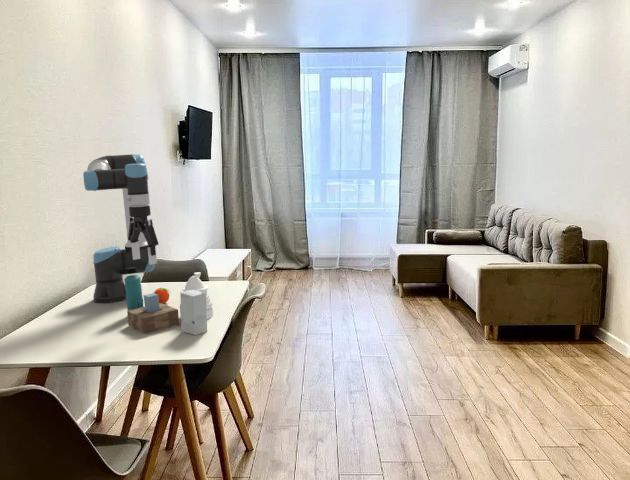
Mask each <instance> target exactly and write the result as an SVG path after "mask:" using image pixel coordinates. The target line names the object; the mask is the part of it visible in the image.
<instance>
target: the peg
mask: <svg viewBox="0 0 630 480" xmlns="http://www.w3.org/2000/svg"><path fill="white" fill-rule="evenodd" d="M143 305H144V307H145V312H147V313H152V312H156V311H160V308H159V297H158V295H157V294H155V293H154V292H152V293H148V294H147V293H146V294H143Z"/></svg>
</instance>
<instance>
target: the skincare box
mask: <svg viewBox="0 0 630 480" xmlns="http://www.w3.org/2000/svg"><path fill="white" fill-rule="evenodd" d="M179 296H180V304H181V317H180V320H181V322H180V323H181V332H183V333H186V334H191V335H193V336H197V335H200V334H203V333H206V332H208V322H207V321H208V319H207V312H206V293H203V292H200V291H196V290H188V291H184V292H183V291H181V292H180V295H179Z"/></svg>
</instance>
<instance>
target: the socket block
mask: <svg viewBox="0 0 630 480" xmlns="http://www.w3.org/2000/svg"><path fill="white" fill-rule="evenodd" d="M159 308H160V311H156V312H152V313H147V312H145V306H144V307H142V308H137V309H133V310H129V311H127V310H126V313H127V314H126V315H127V321H128V322H127V323H128V327H130V328H132V329H134V330H136V331H138V332H140V333H143V334H144V335H146V334H149V333H153V332H157V331H161V330H164V329H169V328H172V326H173V327H177V326H180V316H179V315H180V314H179V309H177V308H175V307H173V306H170V305H167V304H166V303H164V304H162V303H159Z"/></svg>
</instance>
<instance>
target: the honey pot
mask: <svg viewBox="0 0 630 480" xmlns="http://www.w3.org/2000/svg"><path fill="white" fill-rule="evenodd" d="M201 273H202V272H200V271H199V272H194V273H193V274H194V275H192V276H190V277H189V278H188V280H187V282H186V283H185V286H184V287H183V288H182V292H184V291H188V290H196V291H200V292H203V293H206V312H207V320H209V319H211V318H213V317H214V309H213V308H214V306H213V301H212V300H211V297H210V293H208V289H209V286H208V285H205V284H204V283H203V281H202V280H201V279H200V277H201V275H202V274H201ZM179 315H180V316H179V318H181V303H180V304H179Z"/></svg>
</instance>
